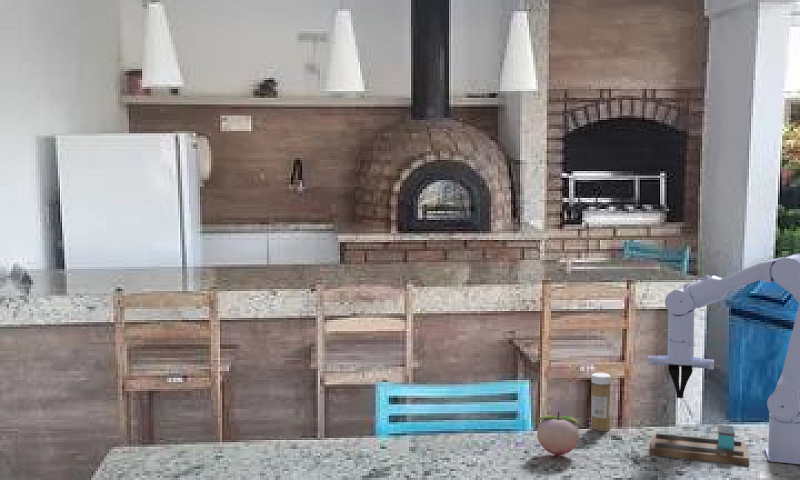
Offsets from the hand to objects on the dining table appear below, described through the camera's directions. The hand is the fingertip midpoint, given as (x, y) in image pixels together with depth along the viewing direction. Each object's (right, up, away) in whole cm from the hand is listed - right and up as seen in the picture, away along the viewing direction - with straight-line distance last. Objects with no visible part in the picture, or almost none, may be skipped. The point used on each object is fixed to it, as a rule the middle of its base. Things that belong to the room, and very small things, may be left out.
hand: (679, 396), depth 186 cm
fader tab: (+6, -9, -12) cm, 16 cm away
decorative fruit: (-31, -11, -12) cm, 35 cm away
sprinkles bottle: (-17, -9, +7) cm, 20 cm away
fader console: (+1, -10, -10) cm, 14 cm away
